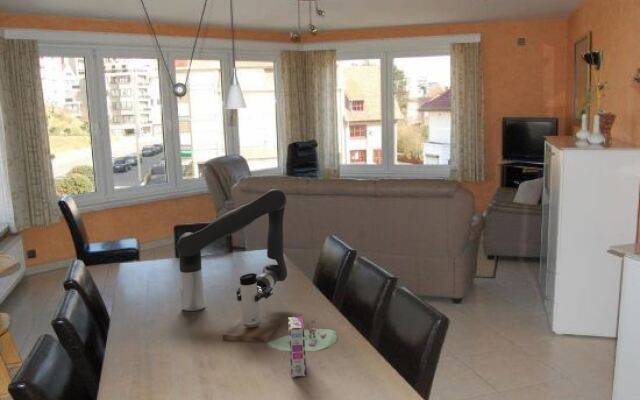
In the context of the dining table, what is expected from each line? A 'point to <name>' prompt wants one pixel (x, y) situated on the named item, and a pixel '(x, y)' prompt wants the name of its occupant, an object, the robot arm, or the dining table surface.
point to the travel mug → (249, 300)
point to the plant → (309, 339)
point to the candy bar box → (297, 347)
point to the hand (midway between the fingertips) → (247, 299)
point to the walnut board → (251, 331)
